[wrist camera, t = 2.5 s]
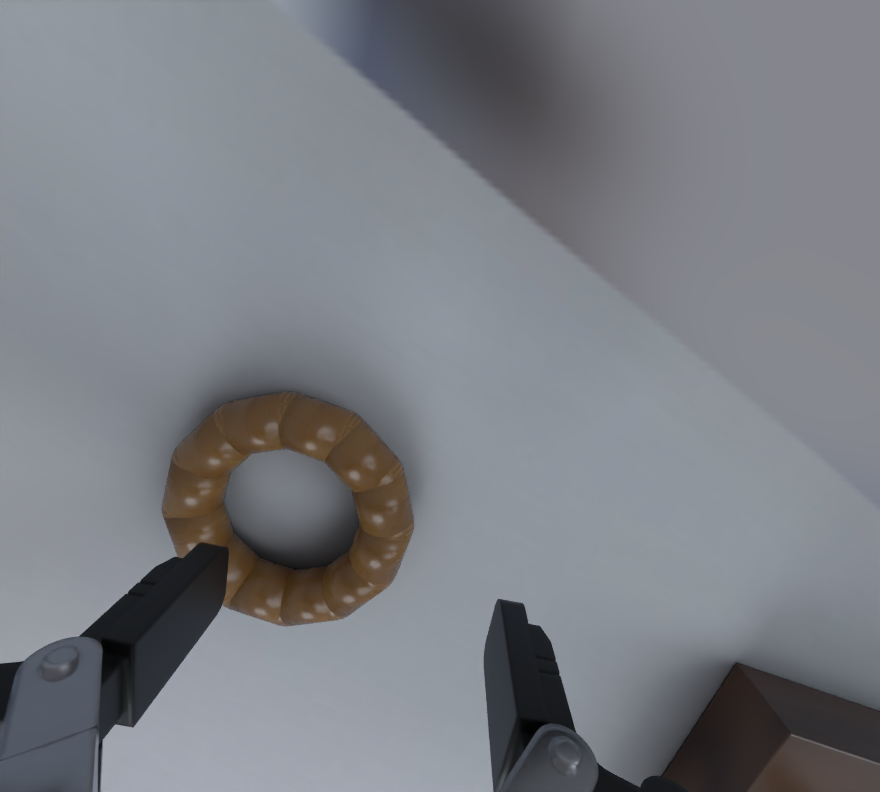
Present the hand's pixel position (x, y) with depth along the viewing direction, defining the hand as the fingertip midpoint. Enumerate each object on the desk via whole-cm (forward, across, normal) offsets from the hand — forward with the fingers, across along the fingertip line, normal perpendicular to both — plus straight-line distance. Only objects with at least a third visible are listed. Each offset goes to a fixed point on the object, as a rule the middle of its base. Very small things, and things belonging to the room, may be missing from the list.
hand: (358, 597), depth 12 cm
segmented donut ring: (+4, +4, 0) cm, 5 cm away
